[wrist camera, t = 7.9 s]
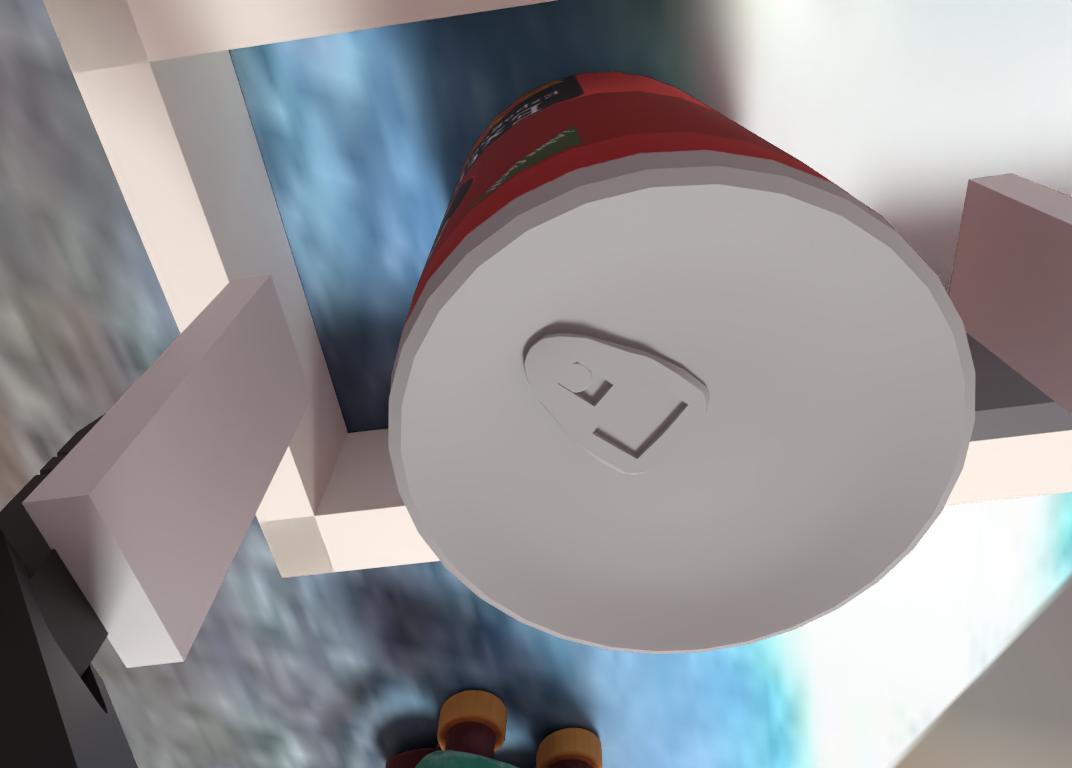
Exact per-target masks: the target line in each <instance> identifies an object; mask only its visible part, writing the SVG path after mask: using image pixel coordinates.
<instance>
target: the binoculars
mask: <svg viewBox="0 0 1072 768" xmlns="http://www.w3.org/2000/svg"><path fill="white" fill-rule="evenodd" d="M506 722H507V710H506V707H505V705H504V703H503V702H502V701H501V700H500V699H499V698H498V697H496V696H495V695H493V694H491V693H488V692H485V691H480V690H469V691H463V692H460V693H457V694H455V695H453V696H452V697H450V698H449V699H448V700H447V701H446V702H445V703H444V705H443V706H442V708H441V711H440V717H439V725H438V734H437V739H438V742H439V744H438V745H437V746H436V747H435V748H427V749H416V750H411V751H406V752H403V753H399V754H397V755H395V756H393V757H391V758H390V759H389V760H388V761H387V762H386V768H518V767H516V766H513V765H510V764H507V763H504V762H501V761H498V760H494V752H495V751H496V750H498V749H499V748H500V747H501V746H502V744H503V743H504V741H505V733H506ZM536 768H602V749H601V742H600V740H599V739H598V737H597V736H596V735H595V734H593V733H592V732H590V731H588V730H585V729H581V728H566V729H561V730H558V731H556V732H554V733H552V734H550V735H548V736H547V737H546V738H545V739H544V740H543V741H542V742H541V744H540V746H539V748H538V751H537V753H536Z"/></svg>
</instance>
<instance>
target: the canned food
mask: <svg viewBox="0 0 1072 768" xmlns="http://www.w3.org/2000/svg"><path fill="white" fill-rule="evenodd" d="M974 423H975V369H974V365H973V360H972V356H971V352H970V348H969V344H968V340H967V336H966V332H965V328H964V323H963V321H962V319H961V318H960V316H959V314H958V312H957V310H956V308H955V307H954V305H953V303H952V301H951V299H950V297H949V295H948V294H947V292H946V290H945V288H944V286H943V284H942V282H941V281H940V279H939V277H938V275H937V274H936V273H935V272H934V271H933V270H932V269H931V268H930V267H929V266H928V265H927V263H926V262H925V261H924V260H923V259H922V258H921V257H920V256H919V255H918V254H917V253H916V252H915V250H914V249H913V248H912V247H911V246H910V245H909V244H908V243H907V242H906V241H905V240H904V238H903V237H902V236H901V235H900V234H899V233H897V232H896V231H895V230H894V229H893V228H892V226H891V225H890V224H889V223H888V222H887V221H886V220H885V219H884V218H883V217H882V216H881V215H880V214H878V213H877V212H875V211H874V210H872V209H871V208H869V207H868V206H866V205H865V204H863V203H862V202H860V201H859V200H857V199H856V198H854V197H853V196H851V195H850V194H849V193H847V192H846V191H845V190H843V189H842V188H840V187H839V186H837V185H836V184H834V183H833V182H831V181H830V180H828V179H827V178H825V177H824V176H822V175H821V174H819V173H818V172H816V171H815V170H813V169H812V168H810V167H809V166H807V165H806V164H804V163H803V162H801V161H800V160H798V159H796V158H794V157H793V156H791V155H789V154H788V153H786V152H784V151H783V150H781V149H779V148H778V147H776V146H774V145H773V144H771V143H769V142H767V141H766V140H764V139H762V138H761V137H759V136H757V135H756V134H754V133H752V132H751V131H749V130H747V129H745V128H744V127H742V126H740V125H739V124H737V123H735V122H734V121H732V120H730V119H729V118H727V117H725V116H724V115H722V114H720V113H718V112H717V111H715V110H713V109H712V108H710V107H708V106H707V105H705V104H703V103H702V102H700V101H698V100H696V99H695V98H693V97H691V96H690V95H688V94H686V93H685V92H683V91H681V90H680V89H678V88H675V87H673V86H670V85H668V84H665V83H662V82H660V81H657V80H655V79H652V78H650V77H646V76H640V75H634V74H628V73H622V72H595V73H581V74H577V75H573V76H570V77H566V78H562V79H558V80H555V81H551V82H549V83H547V84H545V85H543V86H541V87H539V88H537V89H535V90H533V91H531V92H529V93H527V94H525V95H523V96H521V97H520V98H519V99H517V100H516V101H515V102H514V103H513V104H511V105H510V106H509V107H508V108H506V109H505V110H504V111H503V112H501V113H500V114H499V115H498V116H496V118H495V119H494V120H493V121H492V123H491V124H490V125H489V126H488V128H487V129H486V130H485V131H484V132H483V134H482V135H481V136H480V137H479V139H478V140H477V141H476V143H475V145H474V147H473V149H472V151H471V153H470V155H469V157H468V159H467V161H466V163H465V165H464V167H463V169H462V171H461V174H460V177H459V179H458V182H457V184H456V187H455V190H454V192H453V195H452V197H451V200H450V202H449V205H448V208H447V210H446V213H445V215H444V218H443V221H442V223H441V226H440V228H439V231H438V234H437V236H436V239H435V241H434V244H433V246H432V249H431V252H430V254H429V257H428V259H427V262H426V265H425V267H424V270H423V272H422V275H421V278H420V280H419V283H418V285H417V288H416V290H415V293H414V296H413V300H412V304H411V307H410V311H409V314H408V317H407V319H406V322H405V325H404V328H403V332H402V336H401V339H400V343H399V347H398V351H397V355H396V359H395V363H394V367H393V371H392V375H391V392H390V396H389V426H388V448H389V452H390V457H391V461H392V465H393V470H394V474H395V478H396V483H397V487H398V491H399V494H400V496H401V498H402V500H403V502H404V504H405V506H406V508H407V510H408V512H409V514H410V517H411V519H412V521H413V523H414V525H415V527H416V529H417V531H418V533H419V534H420V536H421V537H422V538H423V539H424V541H425V542H426V543H427V545H428V546H429V547H430V548H431V550H432V551H433V552H434V554H435V555H436V556H437V557H438V559H439V560H440V561H441V562H442V564H443V565H444V566H445V568H446V569H447V570H448V571H450V572H451V573H452V574H453V575H454V576H455V577H456V578H458V579H459V580H460V581H461V582H462V583H463V584H465V585H466V586H467V587H468V588H469V589H470V590H471V591H473V592H474V593H475V594H476V595H477V596H478V597H480V598H481V599H482V600H484V601H486V602H487V603H489V604H491V605H492V606H494V607H496V608H497V609H499V610H501V611H502V612H504V613H506V614H507V615H509V616H511V617H512V618H514V619H516V620H517V621H519V622H521V623H524V624H526V625H529V626H531V627H534V628H536V629H539V630H541V631H544V632H546V633H549V634H551V635H554V636H556V637H559V638H561V639H565V640H569V641H573V642H577V643H581V644H586V645H590V646H594V647H598V648H602V649H607V650H616V651H627V652H637V653H648V654H669V653H694V652H706V651H711V650H717V649H723V648H728V647H734V646H740V645H746V644H750V643H753V642H756V641H760V640H763V639H766V638H769V637H772V636H775V635H779V634H782V633H785V632H788V631H791V630H794V629H796V628H799V627H801V626H803V625H805V624H807V623H809V622H811V621H813V620H815V619H817V618H820V617H822V616H824V615H826V614H828V613H830V612H832V611H834V610H836V609H838V608H840V607H841V606H843V605H844V604H846V603H847V602H849V601H850V600H852V599H853V598H855V597H856V596H858V595H859V594H861V593H862V592H864V591H865V590H867V589H868V588H870V587H871V586H873V585H874V584H875V583H877V582H878V581H879V580H880V579H882V578H883V577H884V576H885V575H886V574H887V573H888V572H889V571H890V570H891V569H892V568H893V567H894V566H896V565H897V564H898V563H899V562H900V561H901V560H902V559H903V558H904V557H905V556H906V555H907V554H908V553H910V552H911V551H912V550H913V549H914V547H915V546H916V545H917V543H918V542H919V541H920V539H921V538H922V537H923V535H924V534H925V533H926V532H927V530H928V529H929V528H930V526H931V525H932V524H933V522H934V521H935V520H936V518H937V517H938V516H939V514H940V513H941V512H942V510H943V508H944V506H945V504H946V502H947V500H948V498H949V496H950V494H951V492H952V490H953V488H954V486H955V484H956V482H957V480H958V478H959V476H960V474H961V472H962V470H963V467H964V463H965V459H966V455H967V451H968V447H969V443H970V439H971V435H972V431H973V427H974Z"/></svg>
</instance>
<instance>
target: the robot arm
mask: <svg viewBox="0 0 1072 768" xmlns="http://www.w3.org/2000/svg"><path fill="white" fill-rule="evenodd" d="M949 297H950V299H951V301H952V303H953V305H954V307H955V308H956V310H957V312H958V314H959V316H960V318H961V319H962V321H963V323H964V328H965V332H967V333H968V334H969V335H970V336H972V337H973V338H974V339H976V340H977V341H978V342H979V343H981V344H982V345H983V346H985V347H986V348H987V349H988V350H990V351H991V352H992V353H993V354H995V355H996V356H997V357H999V358H1000V359H1001V360H1002V361H1004V362H1005V363H1006V364H1008V365H1009V366H1010V367H1011V368H1013V369H1014V370H1015V371H1016V372H1018V373H1019V374H1020V375H1022V376H1023V377H1024V378H1025V379H1027V380H1028V381H1029V382H1031V383H1032V384H1033V385H1034V386H1036V387H1037V388H1038V389H1040V390H1041V391H1042V392H1043V393H1045V394H1046V395H1047V396H1048V397H1050V398H1051V399H1052V400H1054V401H1055V402H1056V403H1057V404H1059V405H1060V406H1061V407H1063V408H1064V409H1065V410H1066V411H1068V412H1069V413H1070V414H1071V415H1072V197H1070V196H1068V195H1065V194H1062V193H1060V192H1057V191H1055V190H1052V189H1050V188H1047V187H1045V186H1042V185H1039V184H1037V183H1034V182H1032V181H1029V180H1027V179H1024V178H1022V177H1019V176H1016V175H1014V174H1004V175H997V176H990V177H982V178H975V179H969V181H968V187H967V192H966V198H965V204H964V210H963V215H962V221H961V227H960V233H959V238H958V244H957V250H956V256H955V261H954V267H953V273H952V279H951V284H950V290H949ZM311 398H312V395H311V392H310V389H309V386H308V383H307V380H306V377H305V374H304V371H303V368H302V365H301V362H300V359H299V357H298V354H297V351H296V348H295V345H294V342H293V339H292V336H291V333H290V330H289V327H288V324H287V321H286V318H285V315H284V312H283V309H282V306H281V304H280V301H279V298H278V295H277V292H276V289H275V286H274V283H273V280H272V277H271V275H263V276H256V277H249V278H241V279H234V280H231V281H230V282H229V283H228V284H227V285H226V286H225V287H224V289H223V290H222V291H221V292H220V293H219V294H218V295H217V296H216V297H215V298H214V299H213V300H212V301H211V302H210V303H209V304H208V306H207V307H206V308H205V309H204V310H203V311H202V312H201V313H200V314H199V315H198V316H197V317H196V318H195V319H194V320H193V321H192V323H191V324H190V325H189V326H188V327H187V328H186V329H185V330H184V331H183V332H182V333H181V334H180V335H179V336H178V337H177V338H176V340H175V341H174V342H173V343H172V344H171V345H170V346H169V347H168V348H167V349H166V350H165V351H164V352H163V353H162V354H161V355H160V357H159V358H158V359H157V360H156V361H155V362H154V363H153V364H152V365H151V366H150V367H149V368H148V369H147V370H146V371H145V373H144V374H143V375H142V376H141V377H140V378H139V379H138V380H137V381H136V382H135V383H134V384H133V385H132V386H131V387H130V388H129V390H128V391H127V392H126V393H125V394H124V395H123V396H122V397H121V398H120V399H119V400H118V401H117V402H116V403H115V404H114V405H113V407H112V408H111V409H110V410H109V411H108V412H107V413H105V414H104V415H102V416H101V417H99V418H98V419H96V420H95V421H93V422H92V423H90V424H89V425H87V426H86V427H84V428H83V429H81V430H80V431H78V432H77V433H76V434H75V435H74V436H73V437H72V438H71V439H70V440H69V441H68V442H67V443H66V444H65V445H64V446H63V447H62V448H61V449H60V450H59V452H58V453H57V457H53V458H52V459H51V460H50V461H49V462H48V463H47V464H46V465H45V466H44V467H43V468H42V469H41V470H40V475H35V476H34V477H33V478H32V480H31V481H30V482H29V483H28V484H27V485H26V486H25V487H24V488H23V489H22V490H21V491H20V492H19V493H18V494H17V495H16V496H15V497H14V498H13V499H12V500H11V501H10V502H9V503H8V504H7V505H6V506H5V507H4V509H3V510H2V511H1V512H0V768H138V767H137V764H136V762H135V759H134V757H133V754H132V752H131V749H130V747H129V744H128V742H127V739H126V737H125V734H124V732H123V729H122V727H121V725H120V722H119V720H118V717H117V715H116V712H115V710H114V707H113V705H112V702H111V700H110V697H109V695H108V692H107V690H106V687H105V685H104V682H103V680H102V679H101V677H100V676H99V674H98V673H97V671H96V670H95V668H94V667H93V665H92V664H91V661H92V660H93V658H94V656H95V655H96V653H97V652H98V650H99V648H100V647H101V645H102V643H103V642H104V640H105V639H106V637H107V638H108V639H109V641H110V642H111V644H112V645H113V647H114V649H115V650H116V652H117V653H118V655H119V656H120V658H121V659H122V661H123V663H124V664H125V666H126V667H127V668H130V667H139V666H147V665H156V664H165V663H174V662H183V661H185V659H186V657H187V655H188V652H189V650H190V648H191V646H192V644H193V642H194V640H195V638H196V636H197V634H198V632H199V630H200V628H201V626H202V624H203V621H204V619H205V617H206V615H207V613H208V611H209V609H210V607H211V605H212V603H213V601H214V599H215V597H216V595H217V593H218V590H219V588H220V586H221V584H222V582H223V580H224V578H225V576H226V574H227V572H228V570H229V568H230V566H231V564H232V562H233V559H234V557H235V555H236V553H237V551H238V549H239V547H240V545H241V543H242V541H243V539H244V537H245V535H246V533H247V531H248V529H249V526H250V524H251V522H252V520H253V518H254V516H255V514H256V512H257V510H258V508H259V506H260V504H261V502H262V500H263V498H264V495H265V493H266V491H267V489H268V487H269V485H270V483H271V481H272V479H273V477H274V475H275V473H276V471H277V469H278V467H279V464H280V462H281V460H282V458H283V456H284V454H285V452H286V450H287V448H288V446H289V444H290V442H291V440H292V438H293V436H294V434H295V431H296V429H297V427H298V425H299V423H300V421H301V419H302V417H303V415H304V413H305V411H306V409H307V407H308V405H309V403H310V400H311Z"/></svg>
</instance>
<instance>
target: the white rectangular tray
mask: <svg viewBox="0 0 1072 768" xmlns="http://www.w3.org/2000/svg"><path fill="white" fill-rule="evenodd" d="M42 1H43V3H44V6H45V8H46V10H47V13H48V15H49V18H50V20H51V22H52V25H53V27H54V30H55V32H56V34H57V37H58V39H59V42H60V44H61V47H62V49H63V51H64V54H65V56H66V59H67V61H68V63H69V66H70V68H71V71H72V73H73V75H74V78H75V80H76V83H77V85H78V87H79V90H80V92H81V95H82V97H83V100H84V102H85V104H86V107H87V109H88V112H89V114H90V116H91V119H92V121H93V124H94V126H95V128H96V131H97V133H98V136H99V138H100V140H101V143H102V145H103V148H104V150H105V153H106V155H107V157H108V160H109V162H110V165H111V167H112V169H113V172H114V174H115V177H116V179H117V181H118V184H119V186H120V189H121V191H122V194H123V196H124V198H125V201H126V203H127V206H128V208H129V210H130V213H131V215H132V218H133V220H134V222H135V225H136V227H137V230H138V232H139V234H140V237H141V239H142V242H143V244H144V247H145V249H146V251H147V254H148V256H149V259H150V261H151V263H152V266H153V268H154V271H155V273H156V275H157V278H158V280H159V283H160V285H161V287H162V290H163V292H164V295H165V297H166V300H167V302H168V304H169V307H170V309H171V312H172V314H173V316H174V319H175V321H176V324H177V326H178V328H179V331H180V333H182V332H183V331H184V330H185V329H186V328H187V327H188V326H189V325H190V324H191V323H192V321H193V320H194V319H195V318H196V317H197V316H198V315H199V314H200V313H201V312H202V311H203V310H204V309H205V308H206V307H207V306H208V304H209V303H210V302H211V301H212V300H213V299H214V298H215V297H216V296H217V295H218V294H219V293H220V292H221V291H222V290H223V289H224V287H225V286H226V285H227V284H228V283H229V282H230V281H231V280H234V279H241V278H249V277H256V276H263V275H271V277H272V280H273V283H274V286H275V289H276V292H277V295H278V298H279V301H280V304H281V306H282V309H283V312H284V315H285V318H286V321H287V324H288V327H289V330H290V333H291V336H292V339H293V342H294V345H295V348H296V351H297V354H298V357H299V359H300V362H301V365H302V368H303V371H304V374H305V377H306V380H307V383H308V386H309V389H310V392H311V395H312V398H311V400H310V403H309V405H308V407H307V409H306V411H305V413H304V415H303V417H302V419H301V421H300V423H299V425H298V427H297V429H296V431H295V434H294V436H293V438H292V440H291V442H290V444H289V446H288V448H287V450H286V452H285V454H284V456H283V458H282V460H281V462H280V464H279V467H278V469H277V471H276V473H275V475H274V477H273V479H272V481H271V483H270V485H269V487H268V489H267V491H266V493H265V495H264V498H263V500H262V502H261V504H260V506H259V508H258V510H257V512H256V516H257V519H258V521H259V524H260V526H261V528H262V531H263V533H264V536H265V538H266V540H267V543H268V545H269V548H270V550H271V553H272V555H273V557H274V560H275V562H276V565H277V567H278V569H279V572H280V574H281V577H282V578H286V577H295V576H304V575H314V574H323V573H332V572H341V571H350V570H359V569H369V568H378V567H387V566H396V565H405V564H414V563H424V562H433V561H440V560H439V559H438V557H437V556H436V555H435V554H434V552H433V551H432V550H431V548H430V547H429V546H428V545H427V543H426V542H425V541H424V539H423V538H422V537H421V536H420V534H419V533H418V531H417V529H416V527H415V525H414V523H413V521H412V519H411V517H410V514H409V512H408V510H407V508H406V506H405V504H404V502H403V500H402V498H401V496H400V494H399V491H398V487H397V483H396V478H395V474H394V470H393V465H392V461H391V457H390V452H389V448H388V428H387V429H379V430H370V431H362V432H354V433H348V432H347V429H346V425H345V422H344V419H343V416H342V413H341V409H340V406H339V403H338V400H337V397H336V393H335V390H334V387H333V384H332V380H331V377H330V374H329V371H328V368H327V364H326V361H325V358H324V355H323V352H322V348H321V345H320V342H319V339H318V336H317V332H316V329H315V326H314V323H313V319H312V316H311V313H310V310H309V307H308V303H307V300H306V297H305V294H304V291H303V287H302V284H301V281H300V278H299V275H298V271H297V268H296V265H295V262H294V259H293V255H292V252H291V249H290V246H289V242H288V239H287V236H286V233H285V230H284V226H283V223H282V220H281V217H280V214H279V210H278V207H277V204H276V201H275V198H274V194H273V191H272V188H271V185H270V182H269V178H268V175H267V172H266V169H265V165H264V162H263V159H262V156H261V153H260V149H259V146H258V143H257V140H256V137H255V133H254V130H253V127H252V124H251V121H250V117H249V114H248V111H247V108H246V105H245V101H244V98H243V95H242V92H241V88H240V85H239V82H238V79H237V76H236V72H235V69H234V66H233V63H232V60H231V56H230V53H229V50H231V49H237V48H244V47H251V46H257V45H264V44H271V43H277V42H284V41H291V40H297V39H304V38H310V37H317V36H324V35H330V34H337V33H344V32H350V31H357V30H364V29H370V28H377V27H384V26H390V25H397V24H404V23H410V22H417V21H423V20H430V19H437V18H443V17H450V16H457V15H463V14H470V13H477V12H483V11H490V10H497V9H503V8H510V7H517V6H523V5H530V4H537V3H543V2H550V1H556V0H42ZM966 336H967V340H968V344H969V348H970V352H971V356H972V360H973V365H974V369H975V423H974V427H973V431H972V435H971V439H970V443H969V447H968V451H967V455H966V459H965V463H964V467H963V470H962V472H961V474H960V476H959V478H958V480H957V482H956V484H955V486H954V488H953V490H952V492H951V494H950V496H949V498H948V500H947V502H946V504H945V506H946V505H955V504H965V503H974V502H983V501H992V500H1001V499H1010V498H1020V497H1029V496H1038V495H1047V494H1056V493H1065V492H1072V415H1071V414H1070V413H1069V412H1068V411H1066V410H1065V409H1064V408H1063V407H1061V406H1060V405H1059V404H1057V403H1056V402H1055V401H1054V400H1052V399H1051V398H1050V397H1048V396H1047V395H1046V394H1045V393H1043V392H1042V391H1041V390H1040V389H1038V388H1037V387H1036V386H1034V385H1033V384H1032V383H1031V382H1029V381H1028V380H1027V379H1025V378H1024V377H1023V376H1022V375H1020V374H1019V373H1018V372H1016V371H1015V370H1014V369H1013V368H1011V367H1010V366H1009V365H1008V364H1006V363H1005V362H1004V361H1002V360H1001V359H1000V358H999V357H997V356H996V355H995V354H993V353H992V352H991V351H990V350H988V349H987V348H986V347H985V346H983V345H982V344H981V343H979V342H978V341H977V340H976V339H974V338H973V337H972V336H970V335H969V334H968V333H966Z"/></svg>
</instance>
